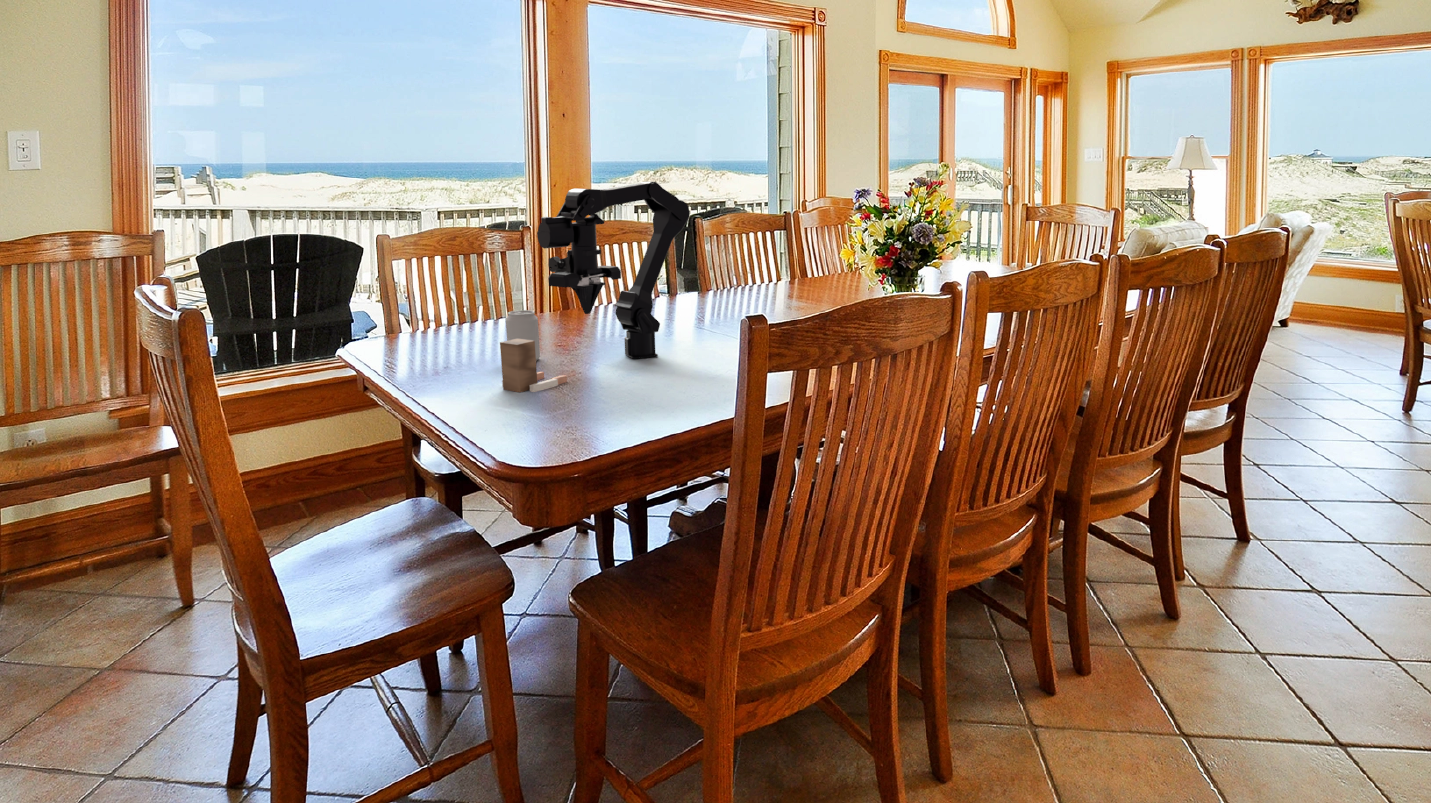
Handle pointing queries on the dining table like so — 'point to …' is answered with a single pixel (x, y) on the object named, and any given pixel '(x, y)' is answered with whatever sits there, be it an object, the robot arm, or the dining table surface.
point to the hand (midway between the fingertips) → (587, 313)
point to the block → (518, 364)
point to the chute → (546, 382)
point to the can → (523, 327)
